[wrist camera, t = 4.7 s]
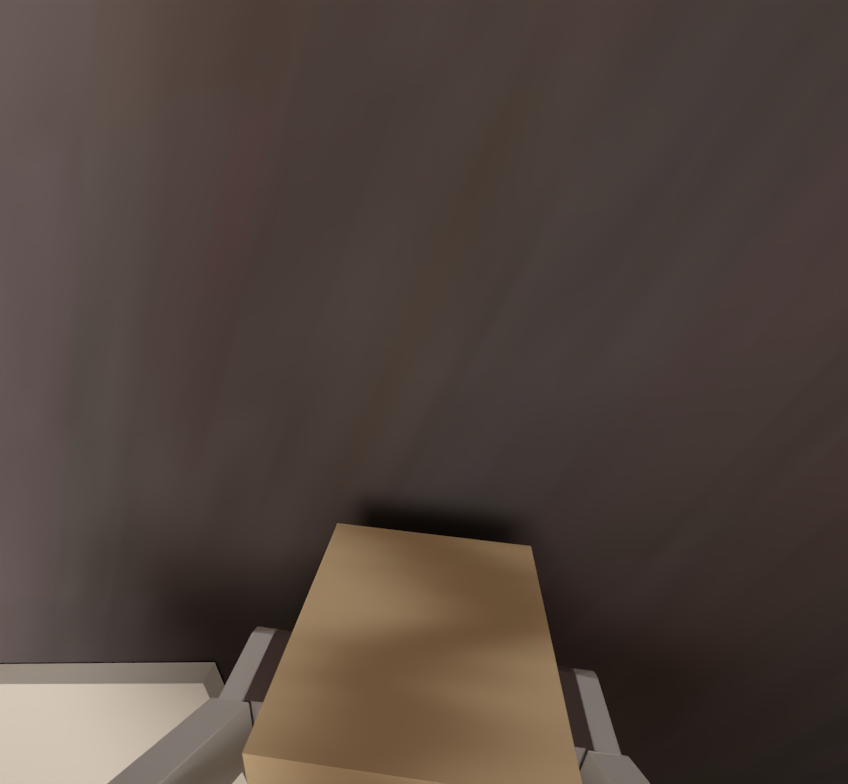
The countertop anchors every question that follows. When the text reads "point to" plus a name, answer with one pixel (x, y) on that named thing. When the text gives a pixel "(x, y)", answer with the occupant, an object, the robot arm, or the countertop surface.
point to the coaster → (93, 716)
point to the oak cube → (416, 670)
